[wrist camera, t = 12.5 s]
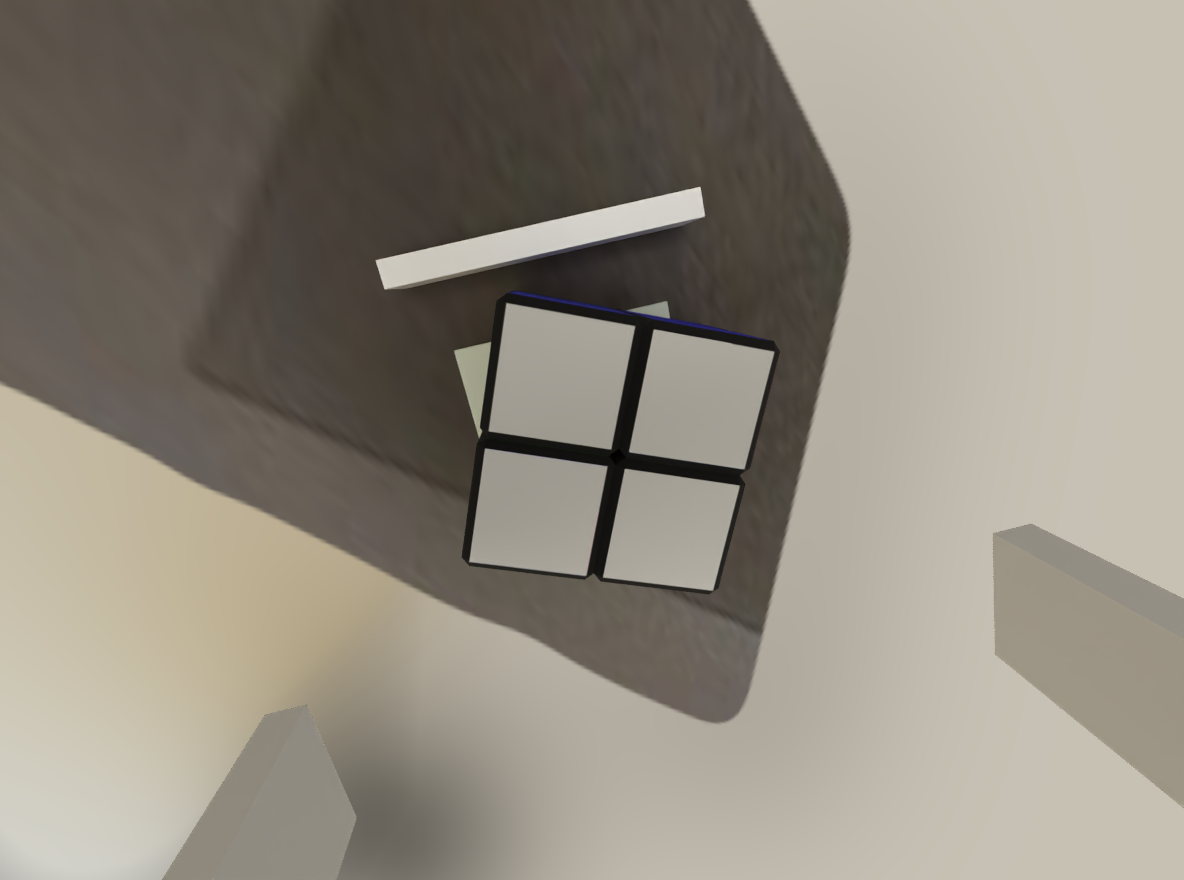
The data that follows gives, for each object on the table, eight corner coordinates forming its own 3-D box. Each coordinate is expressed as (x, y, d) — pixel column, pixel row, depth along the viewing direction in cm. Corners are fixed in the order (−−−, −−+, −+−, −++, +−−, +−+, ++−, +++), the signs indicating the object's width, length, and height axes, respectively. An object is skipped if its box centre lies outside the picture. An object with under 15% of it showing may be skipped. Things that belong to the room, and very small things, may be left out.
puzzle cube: (704, 324, 29) (786, 342, 20) (664, 505, 32) (720, 599, 22) (510, 289, 28) (496, 290, 18) (483, 480, 30) (459, 570, 21)
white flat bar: (405, 288, 28) (384, 289, 24) (398, 263, 28) (375, 260, 24) (682, 225, 28) (704, 216, 25) (678, 200, 28) (700, 186, 24)
